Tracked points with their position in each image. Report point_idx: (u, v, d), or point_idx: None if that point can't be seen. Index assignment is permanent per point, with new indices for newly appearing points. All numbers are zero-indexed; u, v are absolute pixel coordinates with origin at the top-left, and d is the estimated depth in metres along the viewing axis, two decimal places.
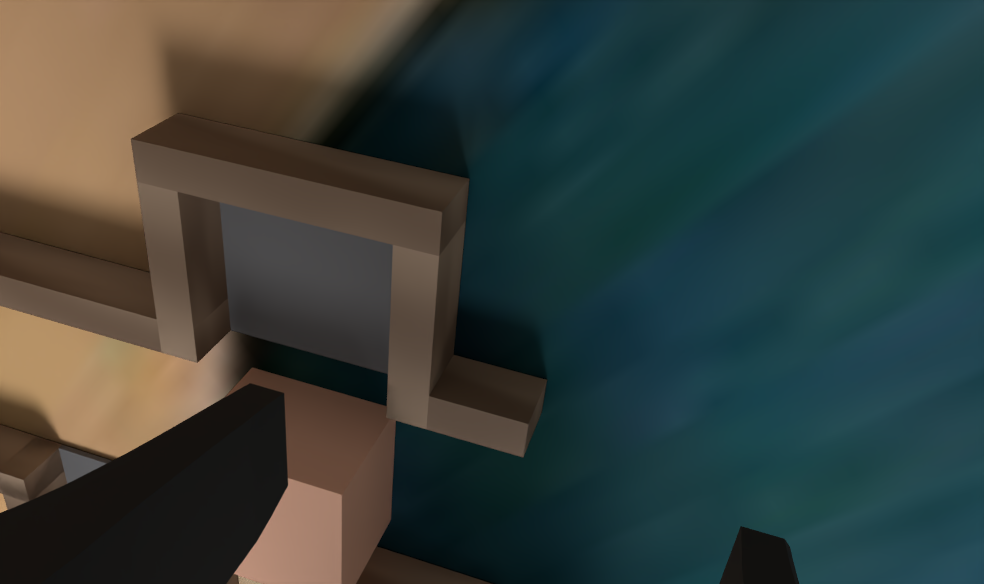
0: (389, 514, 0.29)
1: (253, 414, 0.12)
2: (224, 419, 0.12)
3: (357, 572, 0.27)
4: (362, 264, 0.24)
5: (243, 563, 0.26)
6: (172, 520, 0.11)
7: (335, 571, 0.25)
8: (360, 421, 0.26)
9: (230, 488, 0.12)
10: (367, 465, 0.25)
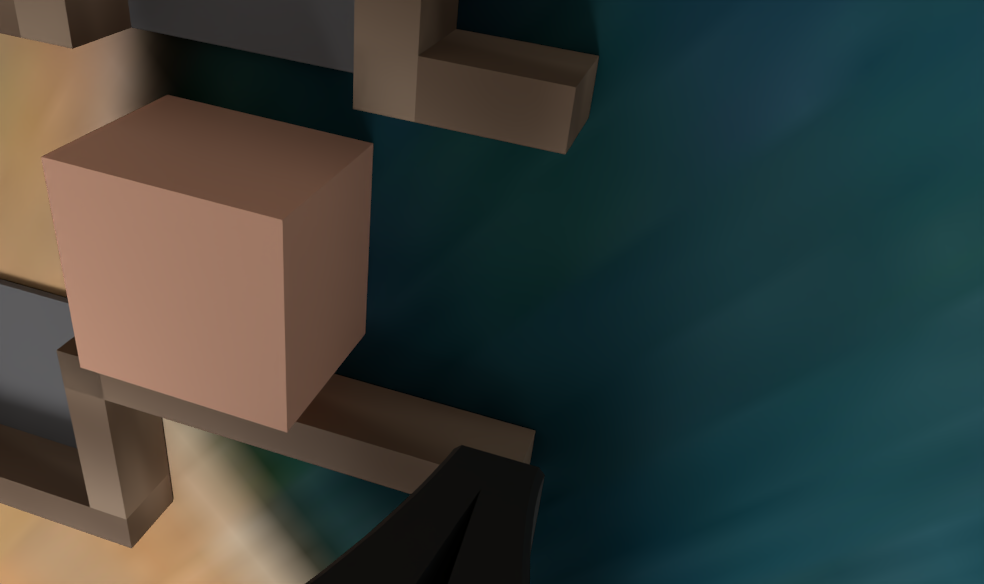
0: (363, 322, 0.20)
1: (482, 483, 0.12)
2: (456, 489, 0.11)
3: (313, 384, 0.18)
4: None
5: (145, 364, 0.18)
6: None
7: (277, 365, 0.17)
8: (319, 151, 0.17)
9: None
10: (325, 203, 0.17)
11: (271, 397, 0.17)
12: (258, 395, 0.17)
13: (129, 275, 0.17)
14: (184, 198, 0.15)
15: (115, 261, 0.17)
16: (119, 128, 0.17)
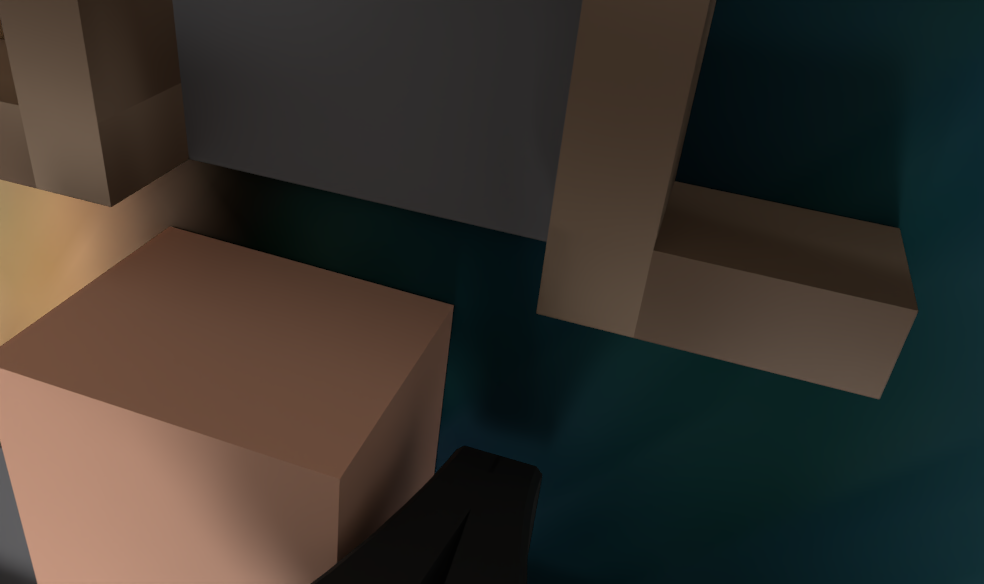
0: None
1: (485, 483, 0.12)
2: (459, 490, 0.11)
3: None
4: None
5: None
6: None
7: None
8: (378, 328, 0.12)
9: None
10: (394, 418, 0.12)
11: None
12: None
13: (110, 516, 0.12)
14: (190, 435, 0.10)
15: (90, 498, 0.12)
16: (97, 297, 0.12)
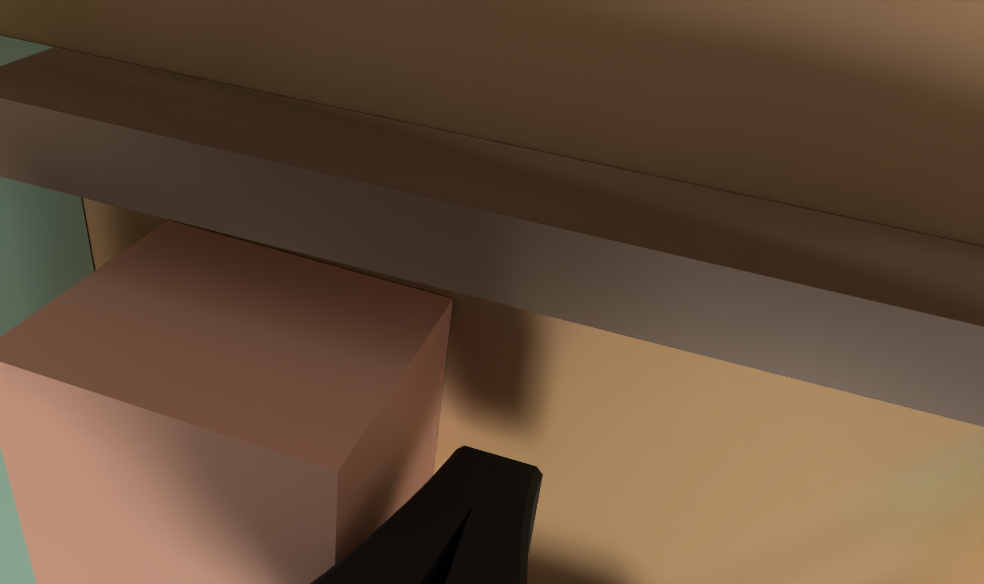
0: None
1: (485, 483, 0.12)
2: (459, 490, 0.11)
3: None
4: None
5: None
6: None
7: None
8: (378, 322, 0.12)
9: None
10: (393, 412, 0.11)
11: None
12: None
13: (108, 510, 0.12)
14: (188, 428, 0.10)
15: (88, 492, 0.12)
16: (94, 290, 0.12)
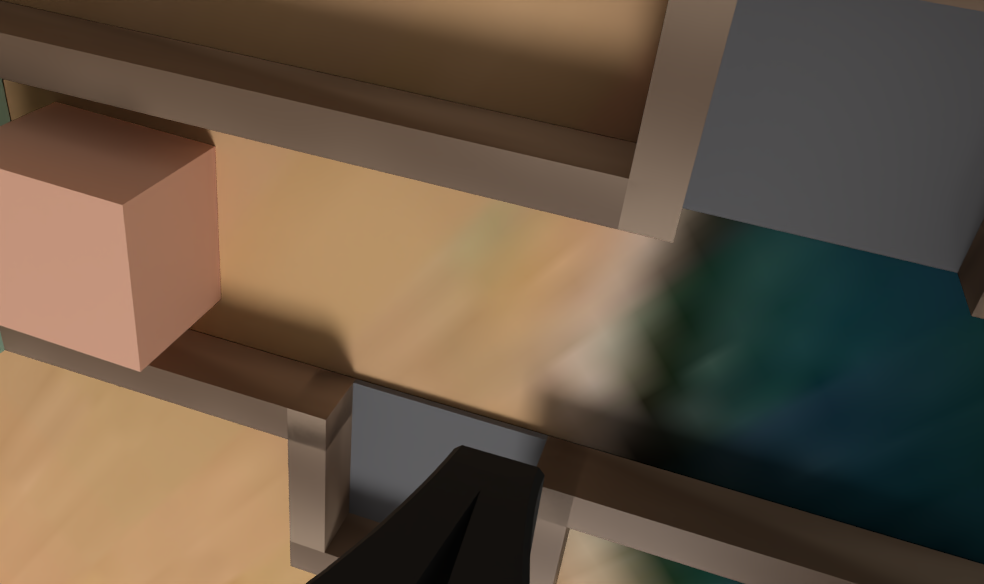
0: (218, 289, 0.25)
1: (482, 483, 0.12)
2: (456, 489, 0.11)
3: (165, 335, 0.23)
4: (947, 98, 0.17)
5: (29, 316, 0.23)
6: None
7: (128, 317, 0.22)
8: (168, 151, 0.22)
9: None
10: (167, 193, 0.21)
11: (126, 342, 0.22)
12: (116, 342, 0.22)
13: (13, 245, 0.21)
14: (49, 186, 0.20)
15: (2, 234, 0.21)
16: (9, 129, 0.22)
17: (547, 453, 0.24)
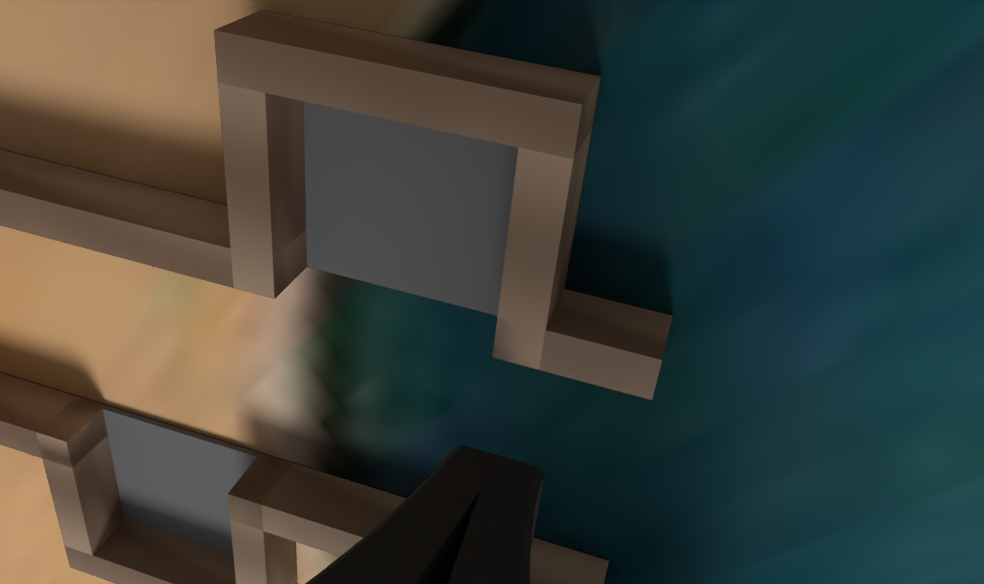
0: None
1: (482, 483, 0.12)
2: (456, 489, 0.11)
3: None
4: (466, 183, 0.21)
5: None
6: None
7: None
8: None
9: None
10: None
11: None
12: None
13: None
14: None
15: None
16: None
17: (253, 468, 0.28)
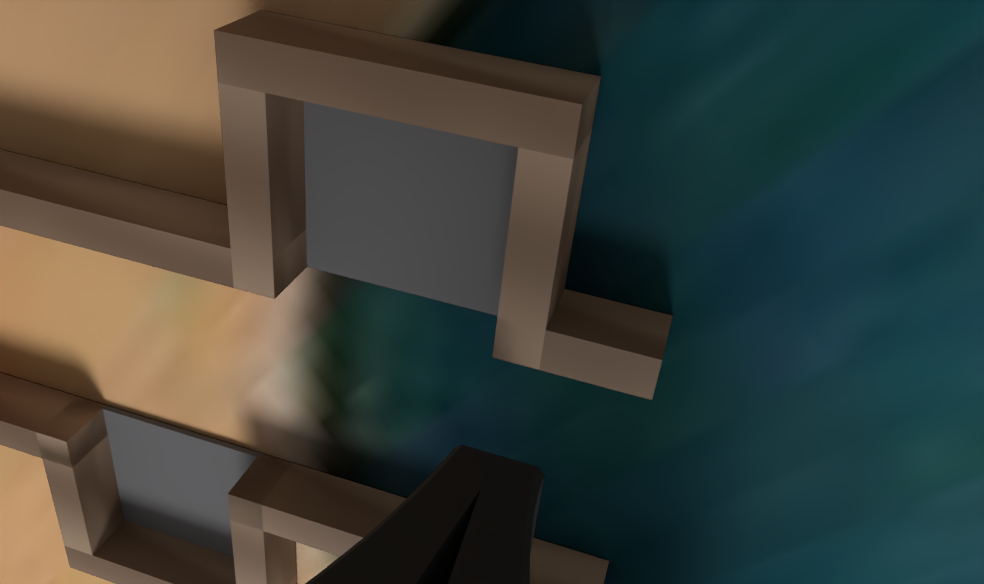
0: None
1: (482, 483, 0.12)
2: (456, 489, 0.11)
3: None
4: (466, 183, 0.21)
5: None
6: None
7: None
8: None
9: None
10: None
11: None
12: None
13: None
14: None
15: None
16: None
17: (253, 468, 0.28)
